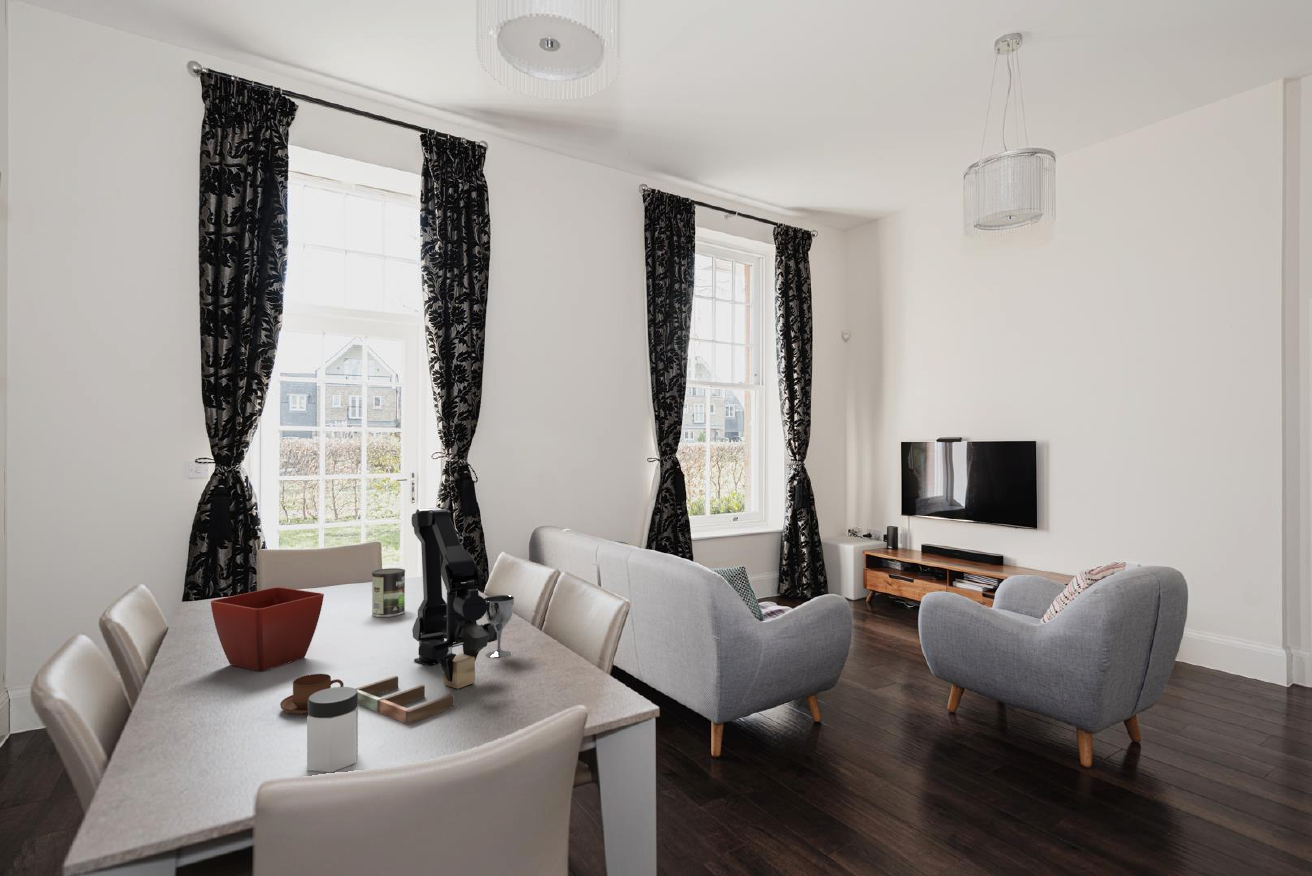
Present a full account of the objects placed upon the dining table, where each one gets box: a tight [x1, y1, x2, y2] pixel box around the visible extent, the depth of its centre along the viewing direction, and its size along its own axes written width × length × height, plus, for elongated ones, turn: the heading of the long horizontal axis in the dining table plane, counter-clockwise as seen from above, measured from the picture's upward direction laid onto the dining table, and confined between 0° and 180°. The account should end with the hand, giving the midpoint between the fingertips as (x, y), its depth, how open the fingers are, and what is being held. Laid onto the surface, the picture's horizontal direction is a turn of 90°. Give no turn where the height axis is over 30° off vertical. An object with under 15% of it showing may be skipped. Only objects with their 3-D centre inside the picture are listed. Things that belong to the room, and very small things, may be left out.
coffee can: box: [371, 567, 406, 618], centre depth 227 cm, size 10×10×14 cm
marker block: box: [443, 653, 476, 690], centre depth 161 cm, size 5×5×6 cm
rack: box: [355, 675, 454, 725], centre depth 149 cm, size 21×11×2 cm, turn 54°
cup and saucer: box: [280, 673, 345, 715], centre depth 147 cm, size 12×12×6 cm
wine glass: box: [483, 594, 515, 659], centre depth 184 cm, size 8×8×15 cm
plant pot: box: [210, 586, 325, 672], centre depth 178 cm, size 19×19×17 cm
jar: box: [306, 686, 359, 773], centre depth 122 cm, size 9×8×12 cm
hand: (459, 678), depth 161 cm, fingers closed on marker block, 5 cm apart
